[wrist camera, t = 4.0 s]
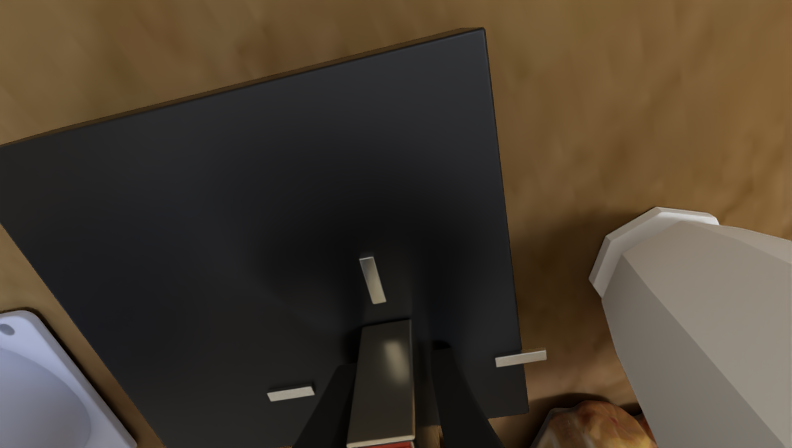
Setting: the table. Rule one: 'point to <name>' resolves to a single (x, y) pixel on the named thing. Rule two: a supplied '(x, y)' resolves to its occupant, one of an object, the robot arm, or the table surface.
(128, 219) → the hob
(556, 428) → the ornament
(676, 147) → the table surface
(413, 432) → the red-tipped beige block
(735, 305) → the cup
